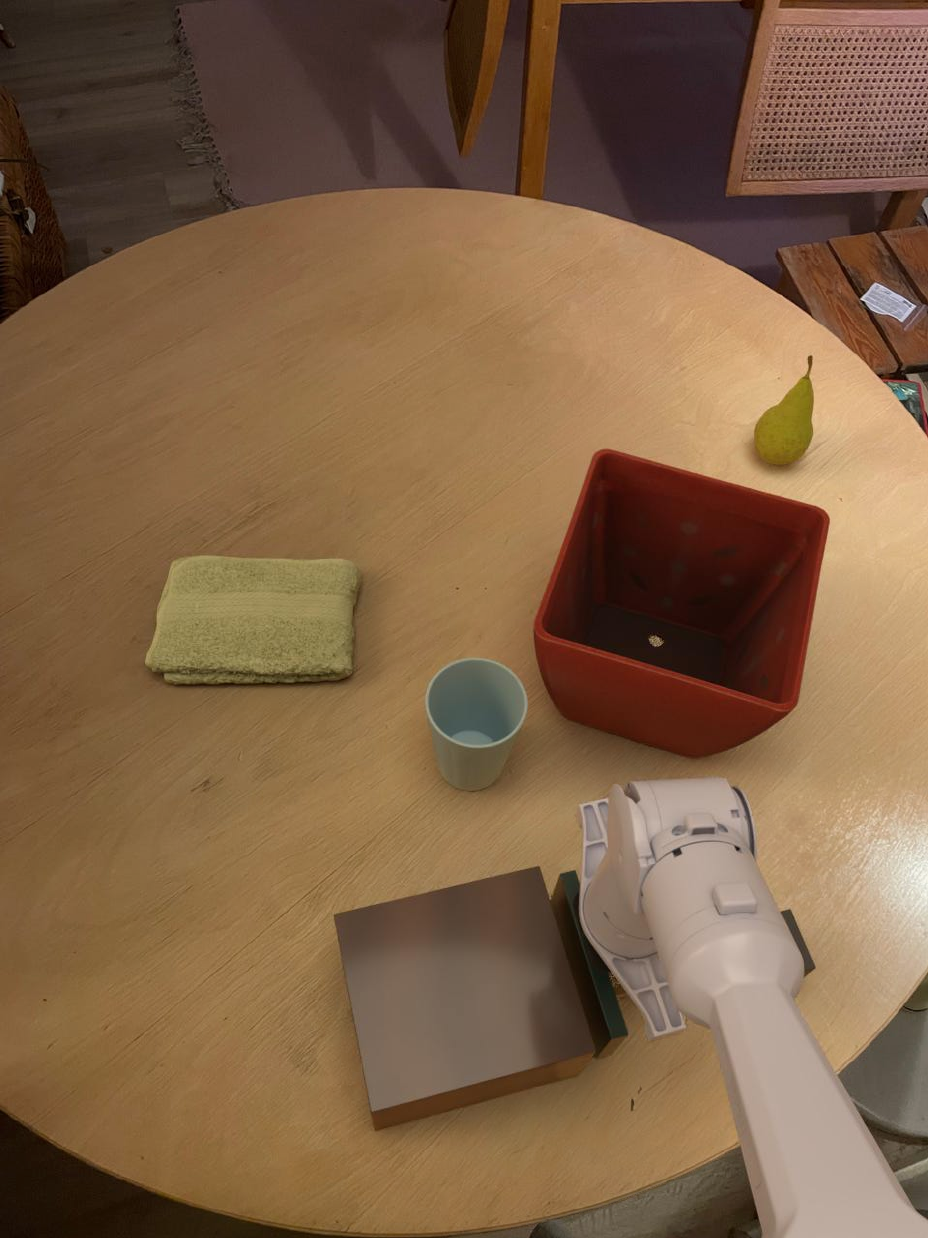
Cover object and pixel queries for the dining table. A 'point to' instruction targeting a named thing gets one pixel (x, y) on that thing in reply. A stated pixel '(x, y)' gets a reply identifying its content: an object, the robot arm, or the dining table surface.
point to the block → (798, 941)
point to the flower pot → (679, 606)
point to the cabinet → (461, 996)
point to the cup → (474, 720)
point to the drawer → (588, 973)
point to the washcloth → (255, 620)
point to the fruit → (787, 424)
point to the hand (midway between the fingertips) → (605, 946)
